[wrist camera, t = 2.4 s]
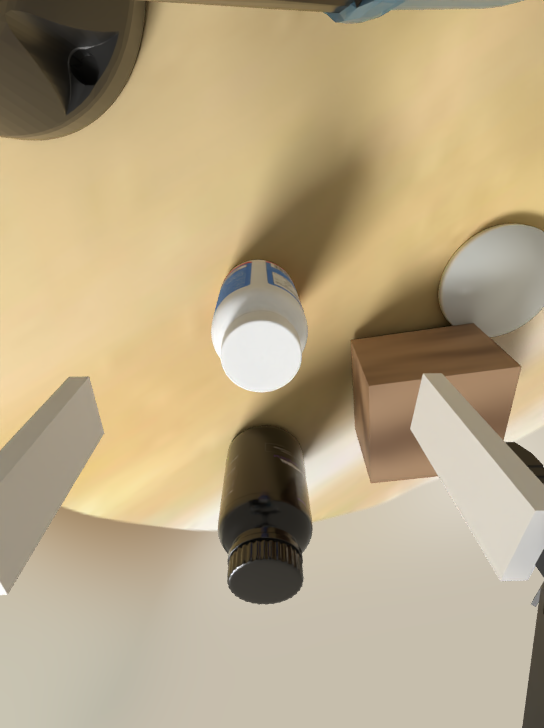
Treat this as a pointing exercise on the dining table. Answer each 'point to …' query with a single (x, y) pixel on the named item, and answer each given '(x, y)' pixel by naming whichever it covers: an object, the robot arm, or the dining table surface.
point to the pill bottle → (259, 326)
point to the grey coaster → (495, 279)
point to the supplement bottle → (265, 515)
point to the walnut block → (401, 387)
